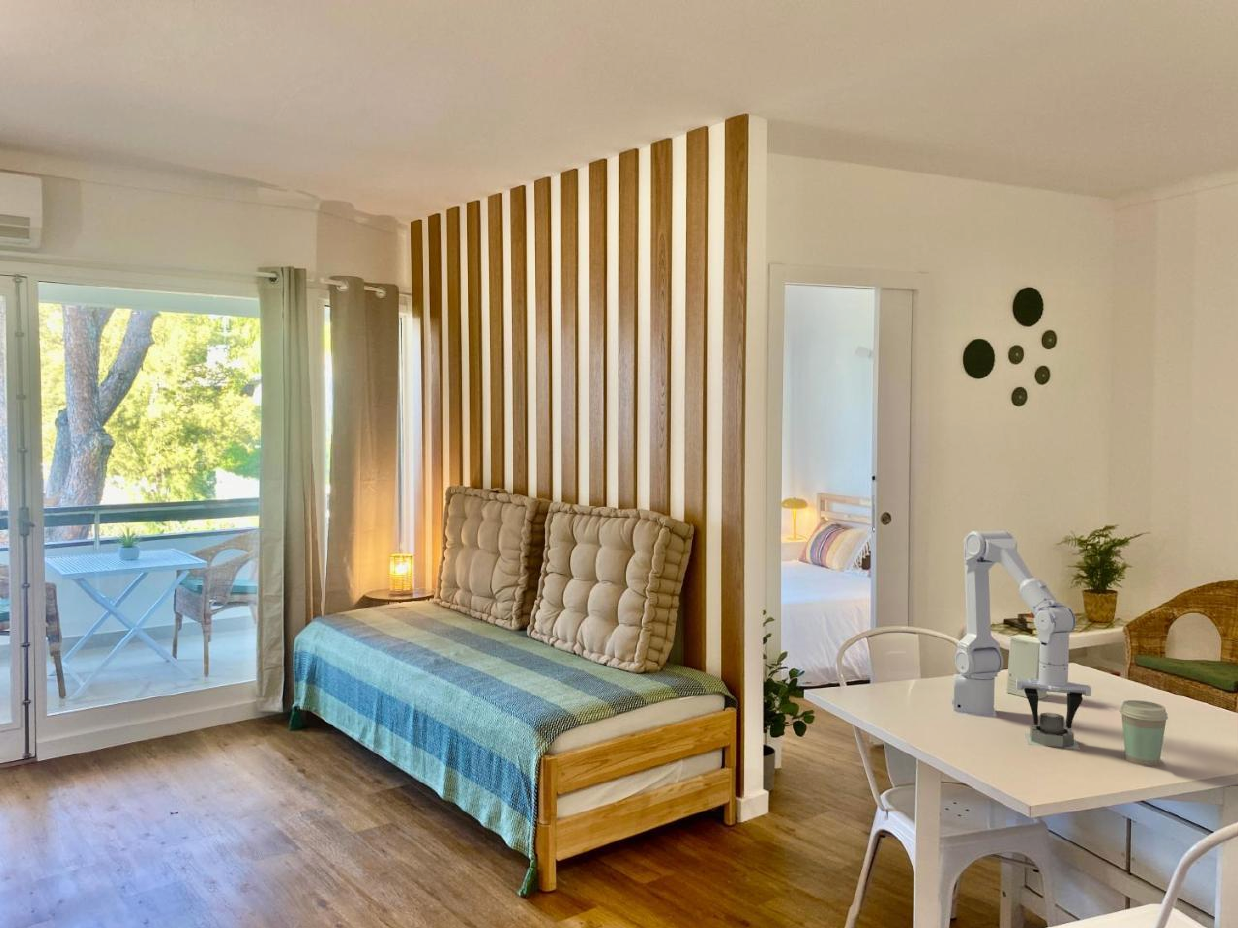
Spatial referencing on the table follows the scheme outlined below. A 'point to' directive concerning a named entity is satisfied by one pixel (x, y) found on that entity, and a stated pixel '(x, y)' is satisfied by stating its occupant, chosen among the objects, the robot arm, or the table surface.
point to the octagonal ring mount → (1052, 737)
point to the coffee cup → (1143, 731)
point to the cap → (1051, 723)
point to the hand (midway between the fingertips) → (1051, 725)
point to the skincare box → (1023, 663)
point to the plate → (1048, 746)
